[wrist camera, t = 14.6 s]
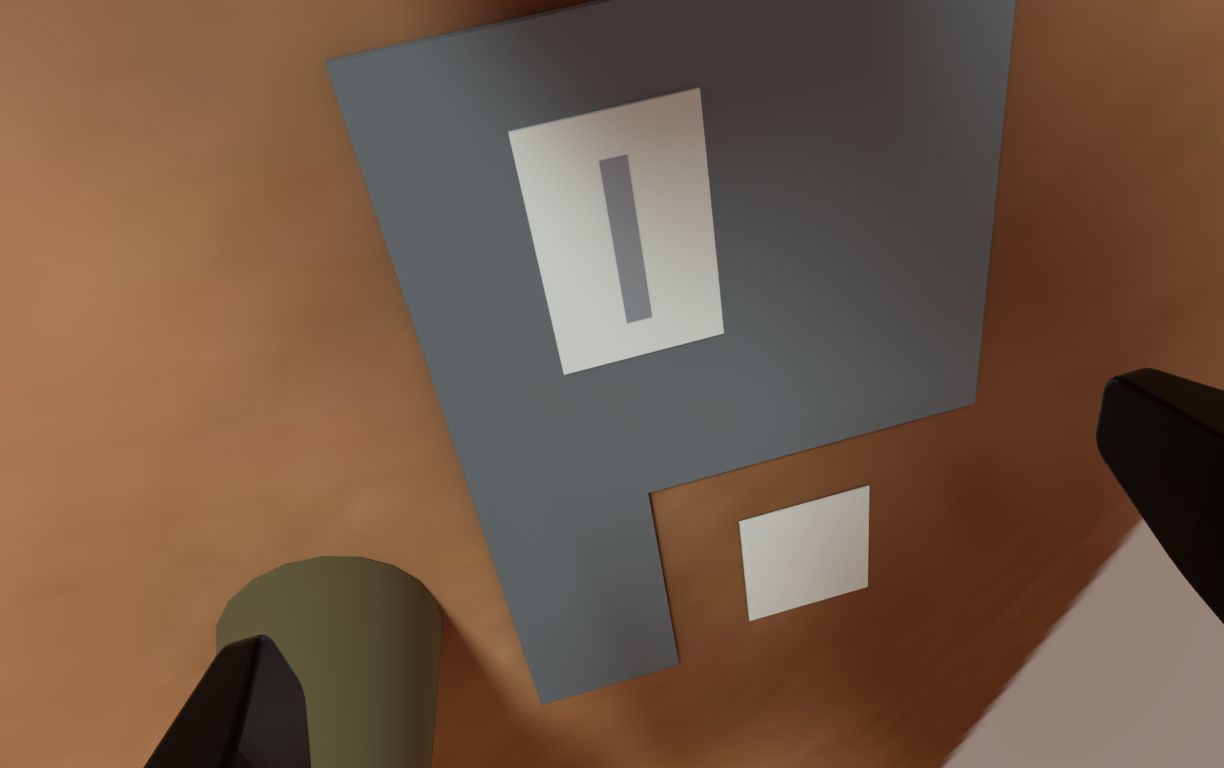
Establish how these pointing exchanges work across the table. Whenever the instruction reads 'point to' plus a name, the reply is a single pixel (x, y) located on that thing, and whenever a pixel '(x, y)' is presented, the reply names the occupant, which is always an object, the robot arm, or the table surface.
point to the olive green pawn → (351, 655)
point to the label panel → (681, 275)
